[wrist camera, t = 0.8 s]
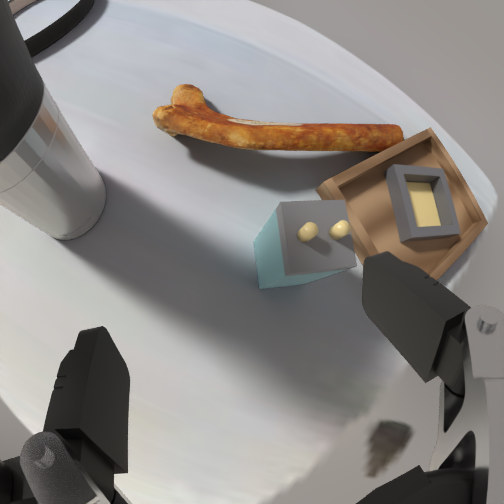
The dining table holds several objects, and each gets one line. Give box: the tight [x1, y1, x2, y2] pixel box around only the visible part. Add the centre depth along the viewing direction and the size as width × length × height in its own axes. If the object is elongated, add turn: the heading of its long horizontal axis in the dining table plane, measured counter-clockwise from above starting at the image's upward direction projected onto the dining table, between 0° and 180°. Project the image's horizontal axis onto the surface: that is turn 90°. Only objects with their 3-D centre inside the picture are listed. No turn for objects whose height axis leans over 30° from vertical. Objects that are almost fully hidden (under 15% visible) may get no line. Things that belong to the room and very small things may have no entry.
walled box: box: [316, 127, 488, 280], centre depth 36 cm, size 17×23×2 cm
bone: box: [153, 84, 403, 152], centre depth 34 cm, size 33×8×10 cm, turn 88°
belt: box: [8, 0, 94, 57], centre depth 33 cm, size 29×30×5 cm
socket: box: [384, 164, 461, 243], centre depth 36 cm, size 10×10×2 cm
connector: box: [254, 200, 357, 289], centre depth 26 cm, size 5×5×14 cm
